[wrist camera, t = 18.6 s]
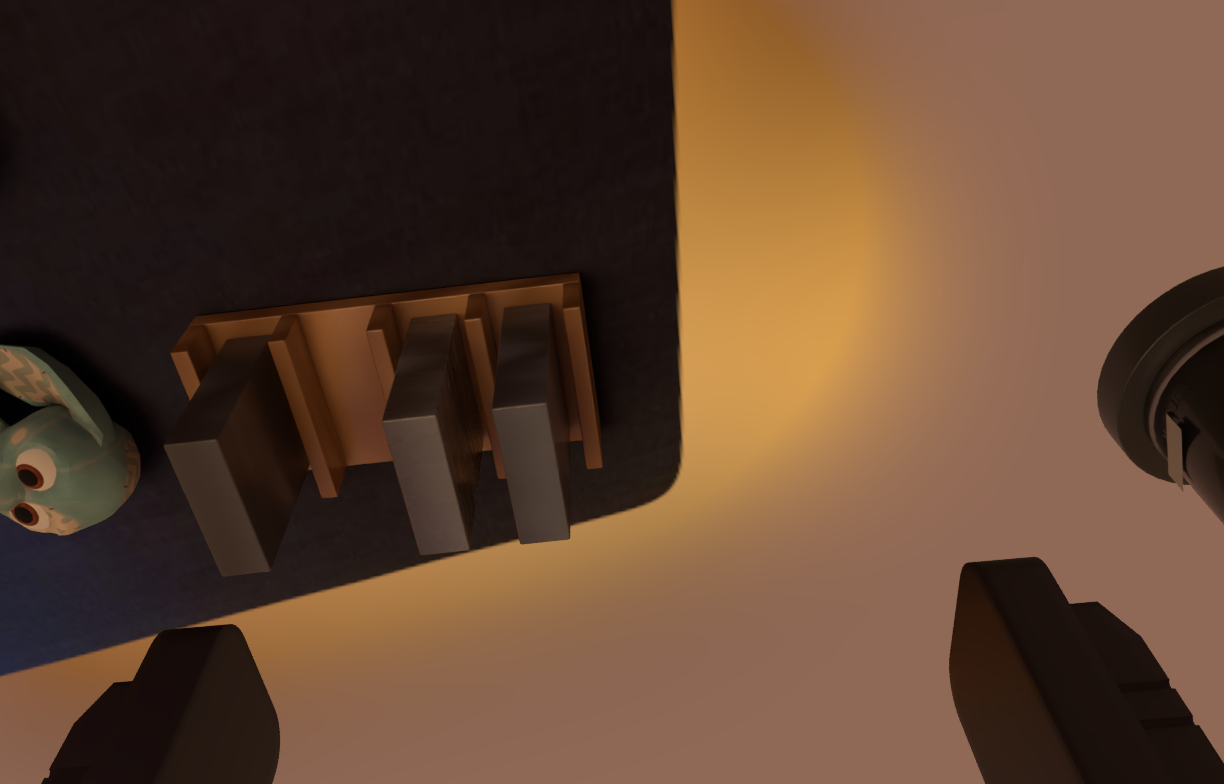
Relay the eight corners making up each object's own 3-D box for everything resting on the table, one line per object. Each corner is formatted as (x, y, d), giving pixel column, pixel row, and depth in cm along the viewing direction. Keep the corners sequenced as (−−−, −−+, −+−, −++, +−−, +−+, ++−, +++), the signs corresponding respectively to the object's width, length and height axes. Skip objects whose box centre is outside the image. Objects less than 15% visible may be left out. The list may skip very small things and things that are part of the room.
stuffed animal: (-189, 341, 40) (89, 456, 41) (-59, 276, 46) (179, 378, 47) (-184, 527, 45) (62, 626, 46) (-69, 446, 51) (146, 535, 52)
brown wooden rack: (579, 271, 45) (581, 379, 37) (600, 427, 50) (607, 551, 42) (195, 315, 46) (116, 431, 38) (253, 465, 51) (195, 595, 43)
